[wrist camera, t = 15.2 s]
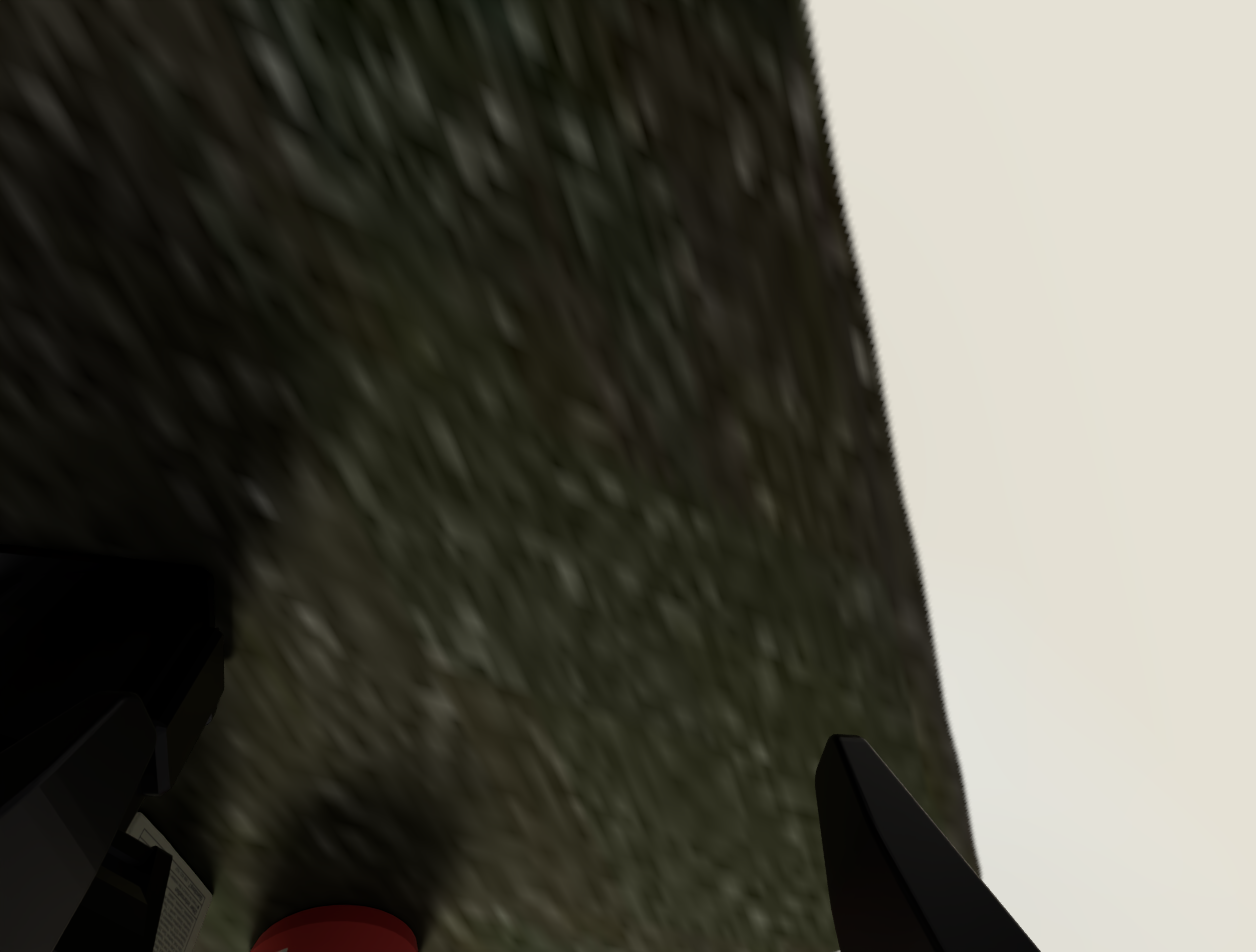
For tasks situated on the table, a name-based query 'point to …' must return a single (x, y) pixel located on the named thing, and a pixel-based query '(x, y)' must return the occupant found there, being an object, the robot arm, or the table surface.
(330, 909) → the canned food
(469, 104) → the table surface
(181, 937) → the skincare box
